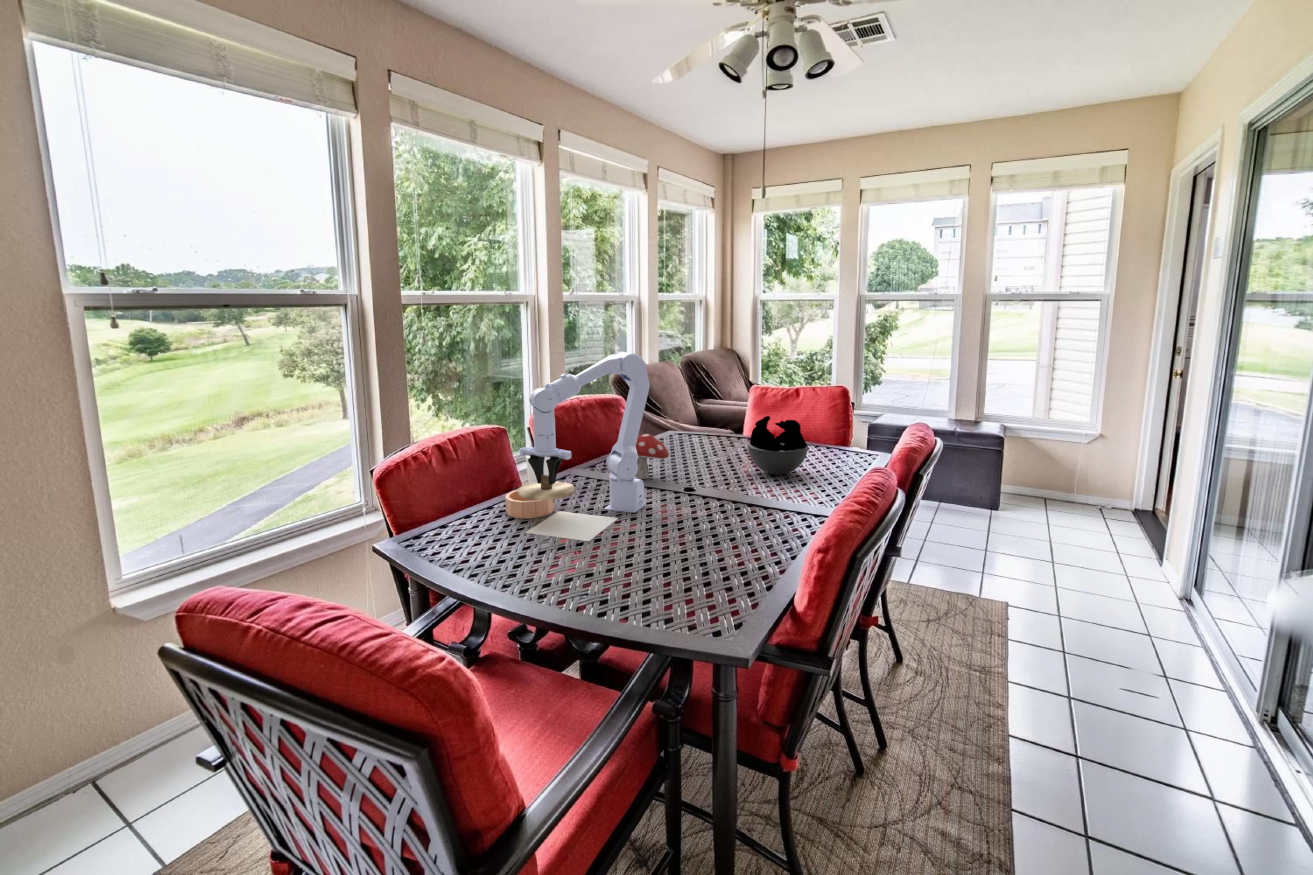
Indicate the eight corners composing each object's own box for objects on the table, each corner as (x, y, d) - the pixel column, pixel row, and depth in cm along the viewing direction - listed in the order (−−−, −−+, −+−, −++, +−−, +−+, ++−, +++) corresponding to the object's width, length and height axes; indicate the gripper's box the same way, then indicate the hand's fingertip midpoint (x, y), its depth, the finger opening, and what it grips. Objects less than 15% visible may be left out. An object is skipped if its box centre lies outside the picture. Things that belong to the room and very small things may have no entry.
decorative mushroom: (640, 469, 227) (640, 427, 224) (678, 476, 218) (678, 432, 215) (611, 480, 215) (610, 435, 212) (650, 487, 206) (650, 441, 202)
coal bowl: (812, 481, 211) (815, 424, 207) (750, 481, 212) (752, 424, 208) (800, 466, 231) (802, 413, 227) (743, 466, 231) (744, 414, 227)
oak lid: (583, 487, 181) (583, 471, 180) (559, 501, 167) (559, 484, 166) (534, 483, 185) (534, 467, 184) (507, 497, 171) (507, 480, 170)
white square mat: (618, 519, 176) (618, 518, 176) (588, 542, 160) (588, 541, 160) (559, 512, 182) (559, 511, 182) (524, 534, 166) (524, 532, 166)
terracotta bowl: (562, 507, 187) (561, 490, 186) (538, 521, 175) (538, 504, 174) (522, 502, 191) (521, 486, 190) (497, 516, 179) (496, 499, 178)
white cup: (556, 483, 211) (555, 453, 209) (542, 490, 204) (541, 459, 202) (536, 481, 214) (535, 451, 212) (522, 487, 207) (520, 456, 205)
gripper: (512, 434, 172) (515, 484, 174) (561, 438, 167) (563, 489, 170) (526, 429, 178) (528, 477, 181) (574, 433, 173) (575, 482, 176)
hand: (546, 483), depth 176 cm, fingers closed on oak lid, 3 cm apart
